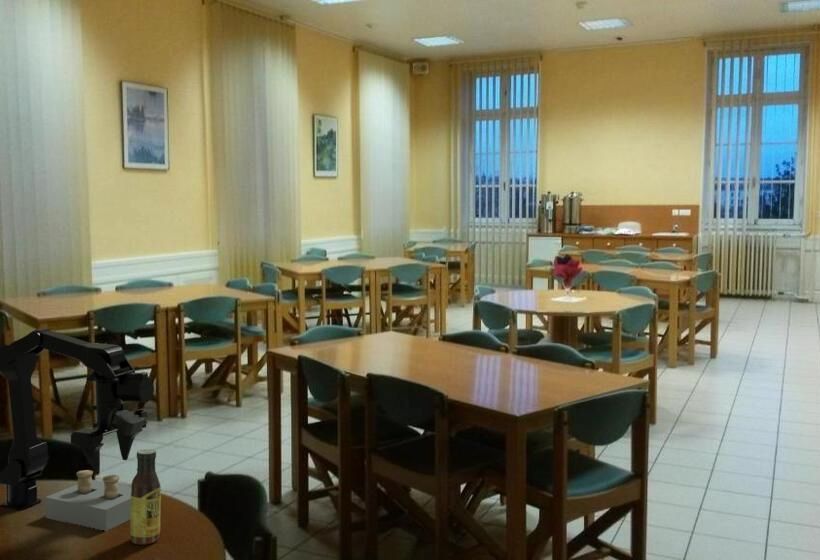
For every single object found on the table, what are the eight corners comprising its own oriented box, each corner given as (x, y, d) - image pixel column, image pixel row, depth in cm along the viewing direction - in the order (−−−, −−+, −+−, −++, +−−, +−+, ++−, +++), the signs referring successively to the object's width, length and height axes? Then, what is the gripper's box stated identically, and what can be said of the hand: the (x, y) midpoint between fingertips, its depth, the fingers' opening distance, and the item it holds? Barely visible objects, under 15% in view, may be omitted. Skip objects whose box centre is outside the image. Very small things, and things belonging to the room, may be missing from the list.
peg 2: (99, 501, 183) (99, 478, 183) (110, 496, 187) (110, 474, 186) (111, 504, 182) (111, 481, 182) (122, 499, 185) (122, 476, 185)
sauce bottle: (150, 547, 168) (150, 457, 167) (124, 544, 170) (124, 454, 168) (166, 535, 175) (166, 448, 173) (140, 532, 176) (140, 446, 174)
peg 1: (73, 496, 186) (73, 473, 186) (84, 491, 190) (84, 469, 189) (85, 498, 185) (84, 475, 184) (96, 493, 188) (96, 471, 188)
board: (45, 517, 183) (45, 497, 182) (90, 498, 196) (90, 479, 195) (106, 531, 176) (106, 509, 176) (148, 510, 189) (148, 490, 189)
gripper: (106, 411, 171) (109, 481, 172) (163, 394, 188) (165, 458, 189) (67, 407, 175) (70, 476, 176) (126, 390, 192) (128, 453, 193)
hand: (111, 465), depth 184 cm, fingers open, 9 cm apart
